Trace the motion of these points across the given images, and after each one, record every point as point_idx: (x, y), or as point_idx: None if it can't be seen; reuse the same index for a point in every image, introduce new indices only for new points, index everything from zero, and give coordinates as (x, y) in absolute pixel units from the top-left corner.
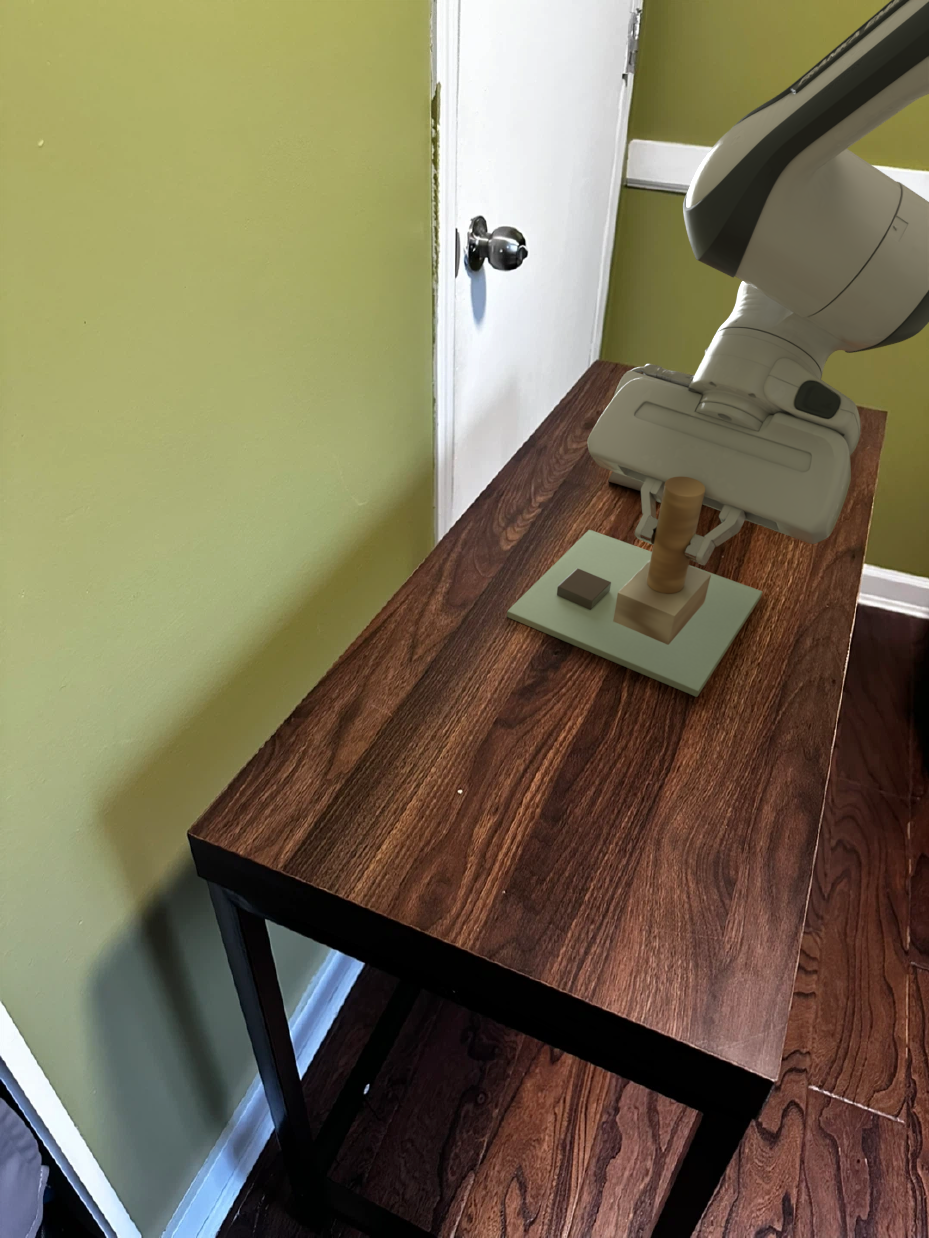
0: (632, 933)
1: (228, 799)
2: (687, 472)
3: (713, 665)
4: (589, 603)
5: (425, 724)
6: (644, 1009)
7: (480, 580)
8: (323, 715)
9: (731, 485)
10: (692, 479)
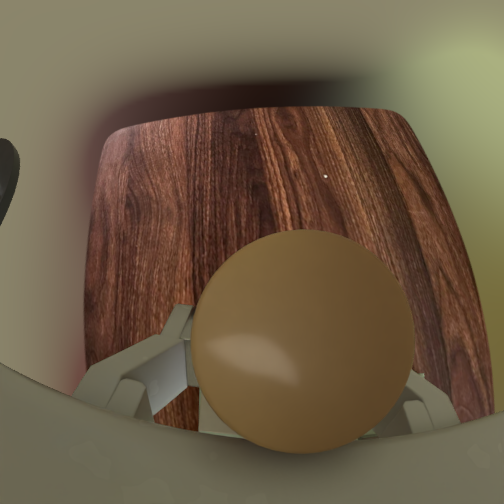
0: (177, 148)
1: (410, 127)
2: (356, 491)
3: (200, 431)
4: (363, 436)
5: (386, 215)
6: (161, 123)
7: (459, 399)
8: (433, 190)
9: (87, 466)
10: (305, 438)
